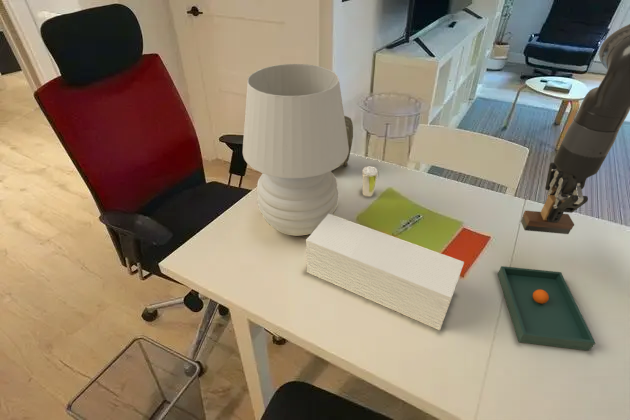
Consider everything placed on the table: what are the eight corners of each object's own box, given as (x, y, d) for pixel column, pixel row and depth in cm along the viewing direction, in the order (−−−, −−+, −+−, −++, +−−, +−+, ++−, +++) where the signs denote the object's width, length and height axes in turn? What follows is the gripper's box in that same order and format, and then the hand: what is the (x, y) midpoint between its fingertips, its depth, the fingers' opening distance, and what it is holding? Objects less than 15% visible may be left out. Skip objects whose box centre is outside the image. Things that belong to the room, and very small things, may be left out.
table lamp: (362, 218, 105) (376, 76, 80) (302, 270, 90) (297, 114, 65) (295, 185, 118) (290, 53, 92) (233, 225, 102) (207, 81, 77)
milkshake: (375, 200, 111) (379, 171, 105) (358, 196, 113) (361, 168, 107) (379, 191, 115) (383, 163, 108) (362, 188, 116) (365, 160, 110)
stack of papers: (452, 294, 84) (464, 261, 77) (439, 330, 77) (451, 297, 70) (327, 245, 96) (328, 213, 90) (306, 272, 89) (306, 239, 82)
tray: (556, 280, 87) (561, 272, 86) (588, 350, 73) (595, 343, 72) (497, 273, 89) (501, 265, 87) (518, 342, 75) (523, 334, 73)
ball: (543, 296, 83) (548, 287, 81) (547, 307, 80) (553, 298, 78) (528, 294, 83) (533, 285, 81) (532, 305, 81) (538, 296, 79)
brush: (562, 224, 83) (578, 195, 78) (568, 234, 80) (585, 205, 75) (520, 220, 84) (533, 192, 79) (524, 230, 81) (538, 202, 76)
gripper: (625, 166, 64) (581, 240, 74) (591, 129, 74) (556, 198, 85) (578, 163, 65) (541, 236, 75) (551, 127, 75) (522, 196, 86)
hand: (549, 216), depth 80 cm, fingers closed on brush, 2 cm apart
